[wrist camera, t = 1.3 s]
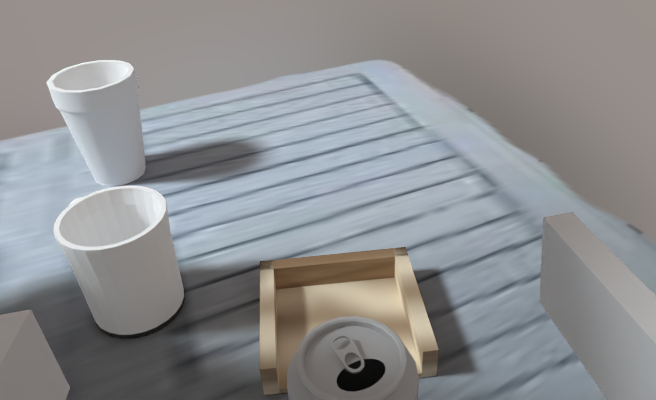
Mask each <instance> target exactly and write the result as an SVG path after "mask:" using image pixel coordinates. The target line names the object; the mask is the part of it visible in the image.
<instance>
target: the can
mask: <svg viewBox="0 0 656 400" xmlns="http://www.w3.org/2000/svg"><path fill="white" fill-rule="evenodd" d="M418 386H419V377H418V372H417V367H416V362H415V360H414V359H413V357H412V356H411V354H410V352H409V351H408V349H407V347H405V345H404V343H403V342H402V340H401V339H400V337H399V335H398V334H396V333H395V332H394V331H393V330H392V329H390V328H389V327H388V326H387V325H385V324H383V323H380V322H378V321H376V320H374V319H370V318H364V317H359V316H349V317H338V318H335V319H332V320H329V321H325V322H323V323H322V324H320V325H318V326H317V327H315V328H314V329H312V330H311V331H310V332H309V333H308V334H307V335H306V336H305V338H304V339H303V340H302V341H301V343H300V346H299V348H298V350H297V351H296V352H295V354H294V355H293V358H292V360H291V363H290V365H289V367H288V370H287V391H288V398H289V400H418Z"/></svg>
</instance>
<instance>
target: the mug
mask: <svg viewBox="0 0 656 400" xmlns="http://www.w3.org/2000/svg"><path fill="white" fill-rule="evenodd" d="M53 231H54V234H55V238H56V240H57V242H58V244H59V246H60V247H61V249H62V251H63V253H64V255H65V256H66V258H67V260H68V262H69V263H70V265H71V268H72V270H73V272H74V274H75V277H76V279H77V281H78V284H79V286H80V288H81V290H82V293H83V295H84V297H85V299H86V302H87V304H88V306H89V308H90V311H91V313H92V315H93V317H94V320H95V322H96V324H97V326H98V327H99V328H100V329H101V330H102V331H104V332H105V333H107V334H109V335H111V336H115V337H120V338H136V337H140V336H145V335H148V334H150V333H153V332H155V331H158V330H159V329H161V328H163V327H164V326H166V325H167V324H169V323H170V322H171V321H172V320H173V319H174V318H175V317H176V316H177V314H178V313H179V311H180V310H181V308H182V305H183V302H184V299H185V296H184V288H183V284H182V279H181V275H180V271H179V266H178V262H177V258H176V253H175V249H174V245H173V240H172V236H171V232H170V225H169V218H168V211H167V204H166V201H165V199H164V198H163V196H162V195H161V194H160V193H158V192H157V191H155V190H153V189H150V188H147V187H142V186H118V187H112V188H106V189H103V190H100V191H96V192H93V193H91V194H89V195H87V196H84V197H82V198H77V199H75V200H73V201H72V202H71V203H70V205H69V206H68V207H67V208H66V209H65V210H64V211H63V212H62V213H61V214H60V215H59V217H58V218H57V220H56V221H55V225H54V229H53Z"/></svg>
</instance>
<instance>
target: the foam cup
mask: <svg viewBox="0 0 656 400" xmlns="http://www.w3.org/2000/svg"><path fill="white" fill-rule="evenodd" d="M47 85H48V88H49V91H50V94H51V96H52V99H53V102H54V103H55V106H56V108H57V109H59V110H60V112H61V114H62V116H63V118H64V120H65V122H66V124H67V126H68V128H69V130H70V132H71V134H72V136H73V138H74V140H75V142H76V144H77V146H78V147H79V149H80V151H81V153H82V155H83V157H84V159H85V161H86V163H87V165H88V167H89V169H90V171H91V173H92V175H93V177H94V179H95V181H96V183H98V184H101V185H103V186H119V185H124V184H128V183H130V182H132V181H134V180H137V179H138V178H139V177H141V176H142V175H143V174H144V172H145V169H146V166H145V164H146V162H145V153H144V144H143V135H142V126H141V117H140V108H139V100H138V88H139V86H138V82H137V78H136V74H135V70H134V68H133V67H132V66H131V65H130V63H126V62H123V61H119V60H99V61H92V62H86V63H81V64H78V65H74V66H71V67H68V68H65V69H63V70H61V71H59V72H57V73H55V74H54V75H52V76H51V78H50V79H49V80H48V81H47Z"/></svg>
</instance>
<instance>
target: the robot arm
mask: <svg viewBox="0 0 656 400" xmlns="http://www.w3.org/2000/svg"><path fill="white" fill-rule="evenodd" d="M540 303H541V305H542V306H543V308H544V309H545V310H546V312H547V313H548V315H549V316H550V318H551V319H552V321H553V322H554V323H555V325H556V326H557V328H558V329H559V331H560V332H561V334H562V335H563V336H564V338H565V339H566V341H567V342H568V344H569V345H570V347H571V348H572V349H573V351H574V352H575V354H576V355H577V357H578V358H579V360H580V361H581V362H582V364H583V365H584V367H585V368H586V370H587V371H588V372H589V374H590V375H591V377H592V378H593V380H594V381H595V383H596V384H597V385H598V387H599V388H600V390H601V391H602V393H603V394H604V396H605V397H606V398H607V400H656V296H655V295H654V293H653V292H652V291H651V290H650V289H649V288H648V287H647V286H646V285H645V284H644V283H643V282H642V281H641V280H640V279H639V278H638V277H637V276H636V275H635V274H634V273H633V272H632V271H631V270H630V269H629V268H628V267H627V266H626V265H625V264H624V263H623V262H622V261H621V260H620V259H619V258H618V257H617V256H616V255H615V254H614V253H613V252H612V251H611V250H610V249H609V248H608V247H607V246H606V245H605V244H604V243H603V242H602V241H601V240H600V239H599V238H598V237H597V236H596V235H595V234H594V233H593V232H592V231H591V230H590V229H589V228H588V227H587V226H586V225H585V224H584V223H583V222H582V221H581V220H580V219H579V218H578V217H577V216H576V215H575V214H574V213H573V212H572V213H566V214H560V215H555V216H549V217H544V219H543V240H542V261H541V282H540ZM69 390H70V386H69V384H68V382H67V380H66V378H65V376H64V374H63V372H62V370H61V368H60V366H59V364H58V362H57V360H56V358H55V356H54V354H53V352H52V350H51V348H50V346H49V344H48V342H47V340H46V338H45V336H44V334H43V332H42V330H41V328H40V326H39V324H38V322H37V320H36V318H35V316H34V314H33V312H32V310H31V309H29V310H23V311H18V312H12V313H7V314H1V315H0V400H66V397H67V395H68V392H69Z"/></svg>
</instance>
